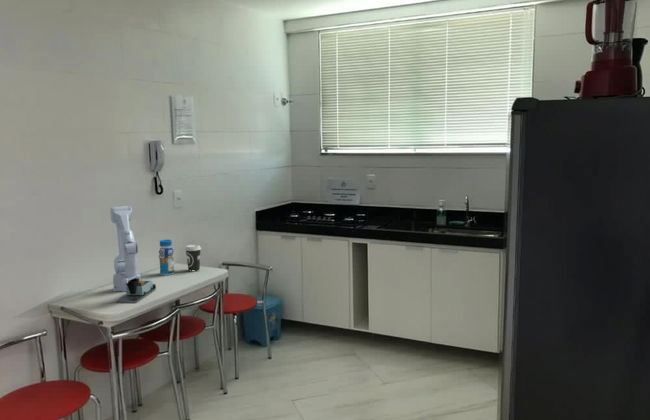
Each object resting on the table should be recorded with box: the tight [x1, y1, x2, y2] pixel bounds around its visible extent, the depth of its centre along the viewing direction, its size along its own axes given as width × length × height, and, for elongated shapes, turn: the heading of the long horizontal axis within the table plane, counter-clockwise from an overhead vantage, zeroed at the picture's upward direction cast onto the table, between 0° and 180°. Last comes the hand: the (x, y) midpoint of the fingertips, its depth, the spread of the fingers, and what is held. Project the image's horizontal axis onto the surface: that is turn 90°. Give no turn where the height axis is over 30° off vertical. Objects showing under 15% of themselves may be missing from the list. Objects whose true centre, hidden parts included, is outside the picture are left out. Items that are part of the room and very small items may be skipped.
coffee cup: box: [184, 244, 202, 272], centre depth 310 cm, size 10×10×15 cm
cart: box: [125, 279, 154, 295], centre depth 262 cm, size 10×12×4 cm
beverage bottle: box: [158, 239, 175, 276], centre depth 302 cm, size 8×8×20 cm
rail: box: [116, 283, 157, 304], centre depth 259 cm, size 10×22×3 cm, turn 175°
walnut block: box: [137, 280, 146, 287], centre depth 262 cm, size 4×4×4 cm
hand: (132, 293), depth 255 cm, fingers closed
